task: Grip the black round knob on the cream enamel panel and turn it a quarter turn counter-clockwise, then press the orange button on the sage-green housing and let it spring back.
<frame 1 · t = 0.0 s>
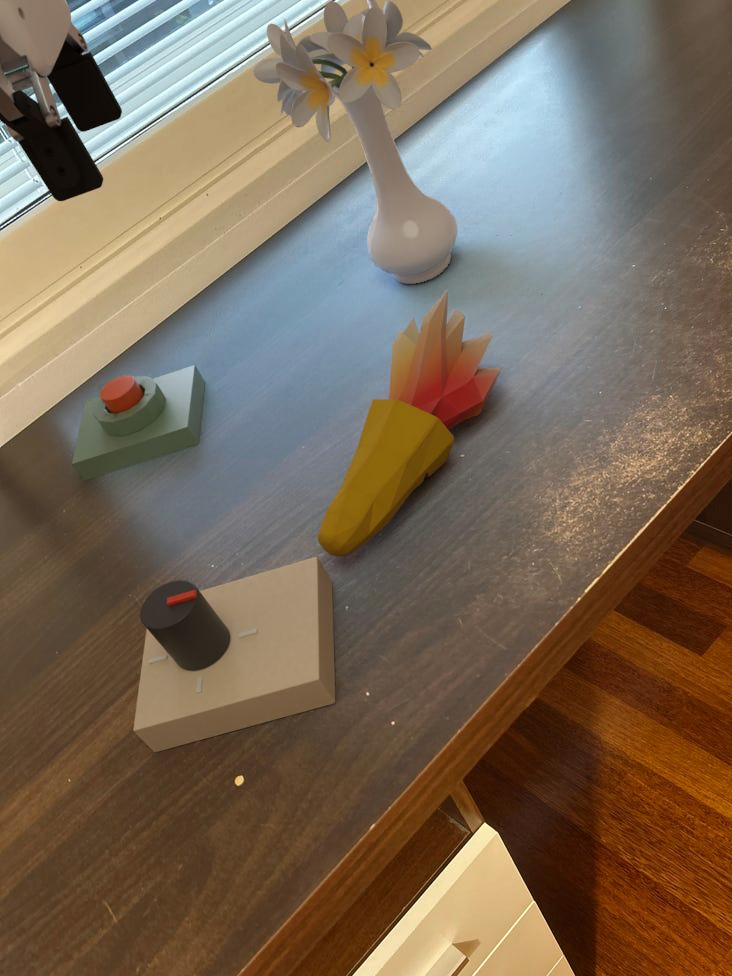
hand: (92, 156, 65), 30 cm above the table, tool pointing down, fingers open, 9 cm apart
flower vase: (416, 270, 105), on the table
knob: (185, 624, 73), point 6 cm above the table, hinge at 0.0°
panel: (246, 664, 77), on the table
torch: (416, 466, 86), on the table
button box: (146, 430, 100), on the table
button: (122, 394, 97), point 4 cm above the table, slide at 0.1 cm
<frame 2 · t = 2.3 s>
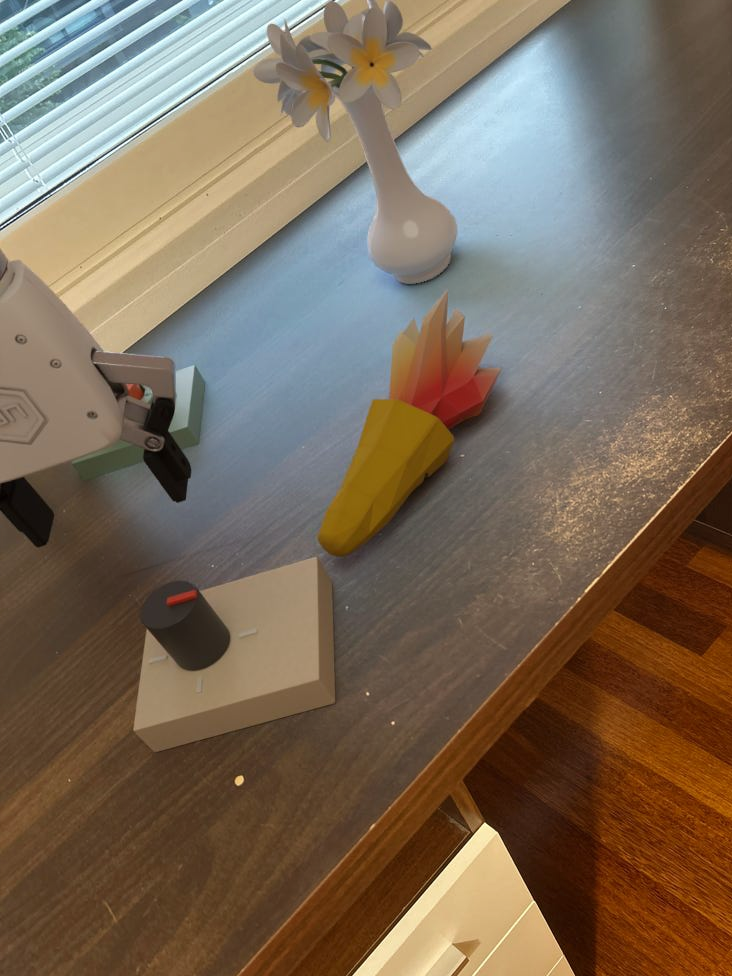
hand: (114, 509, 65), 16 cm above the table, tool pointing down, fingers open, 9 cm apart
nothing on the table moved.
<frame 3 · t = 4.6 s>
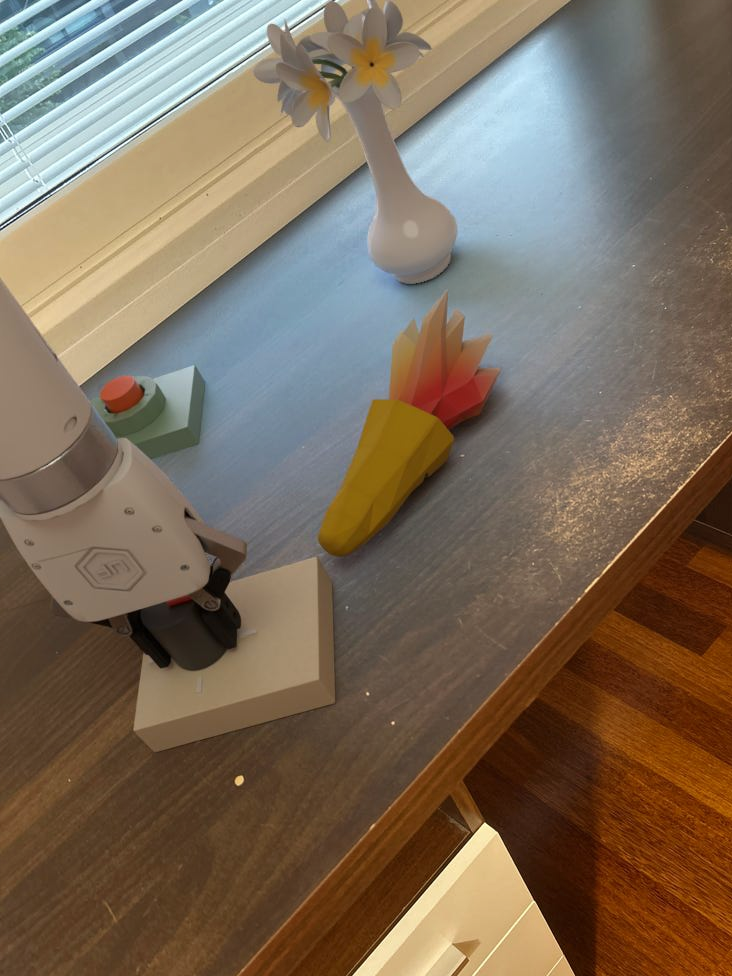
hand: (199, 641, 74), 4 cm above the table, tool pointing down, fingers closed on knob, 4 cm apart
knob: (185, 624, 73), point 6 cm above the table, hinge at 0.2°, touching gripper
everything else where it was.
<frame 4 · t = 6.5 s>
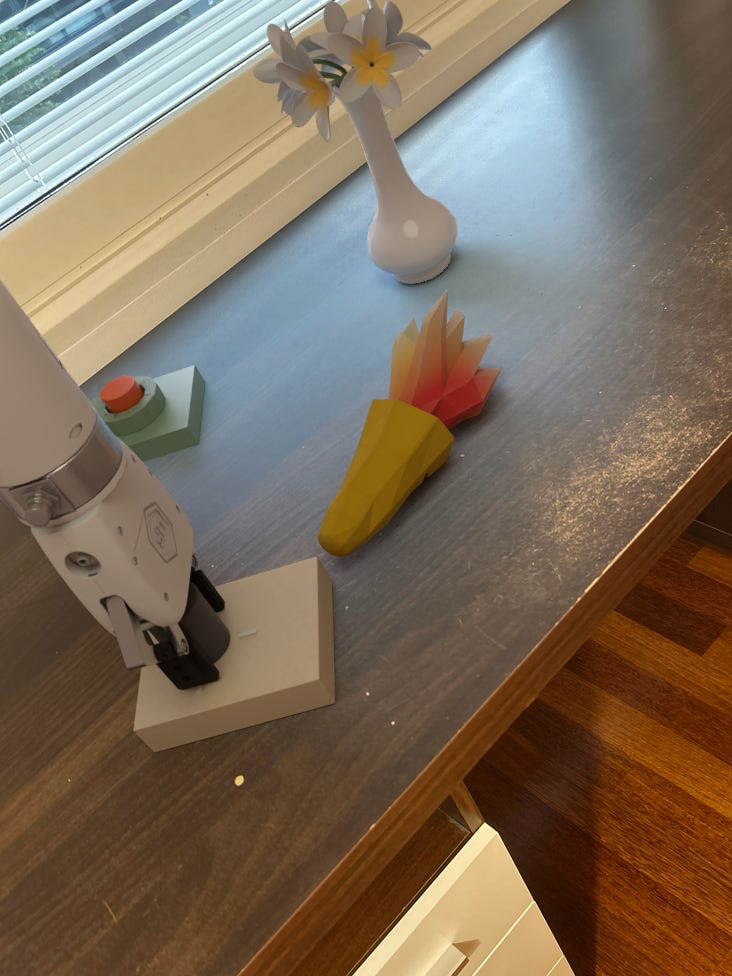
hand: (202, 644, 74), 3 cm above the table, tool pointing down, fingers open, 6 cm apart
knob: (185, 624, 73), point 6 cm above the table, hinge at 87.9°
everything else where it was.
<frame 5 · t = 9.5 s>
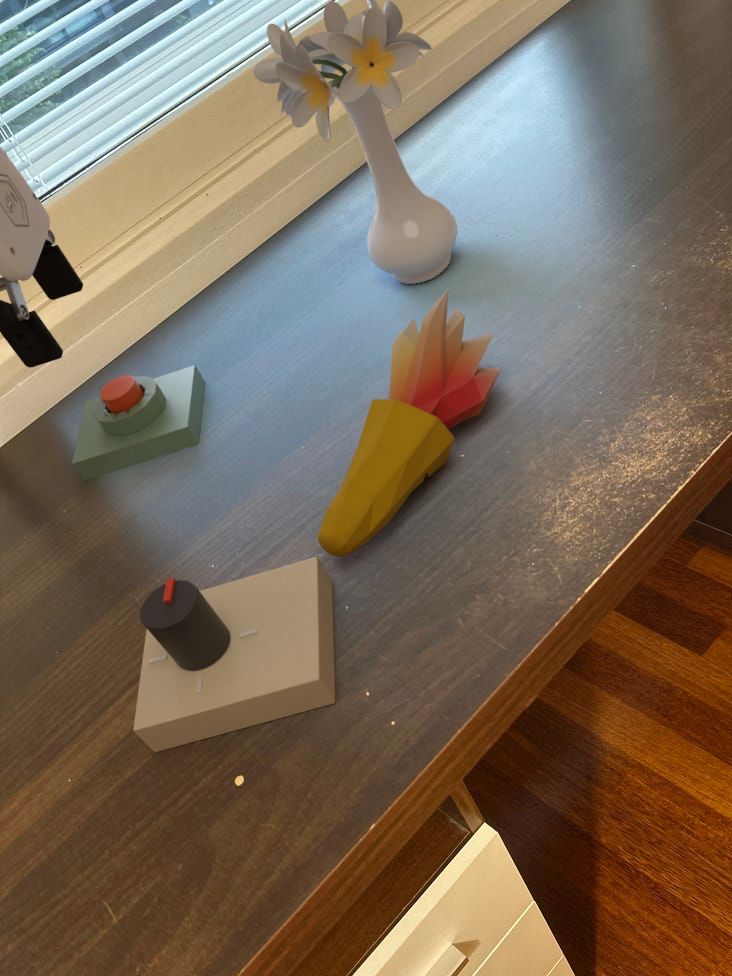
hand: (57, 326, 83), 16 cm above the table, tool pointing down, fingers open, 9 cm apart
nothing on the table moved.
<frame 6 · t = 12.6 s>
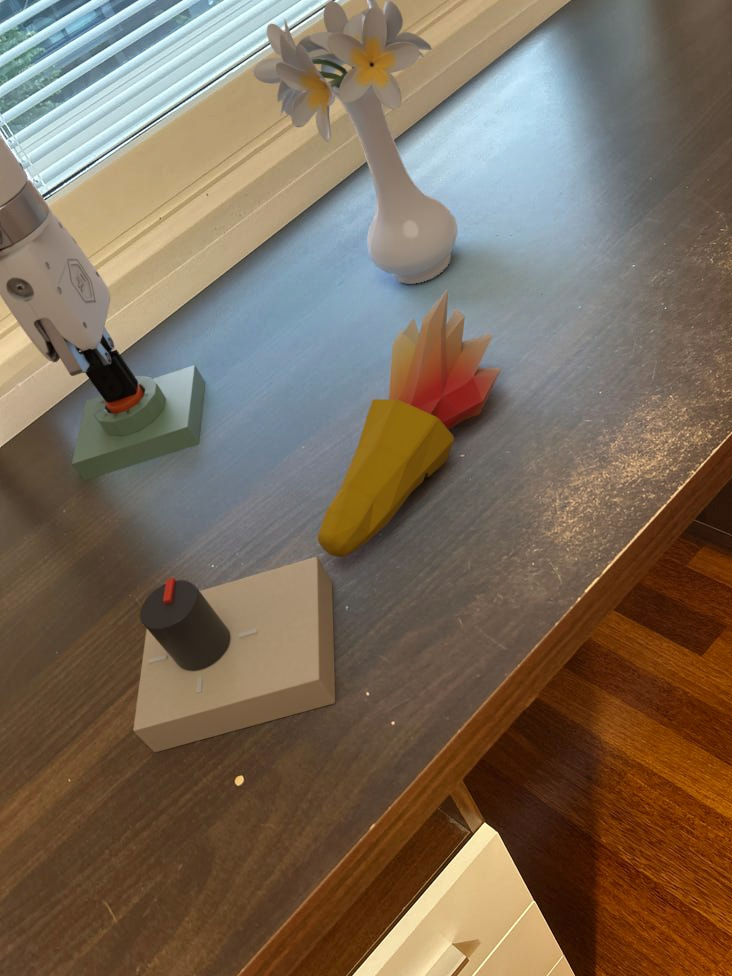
hand: (123, 393, 97), 5 cm above the table, tool pointing down, fingers closed
button: (126, 401, 98), point 4 cm above the table, slide at -0.8 cm, touching gripper
everything else where it was.
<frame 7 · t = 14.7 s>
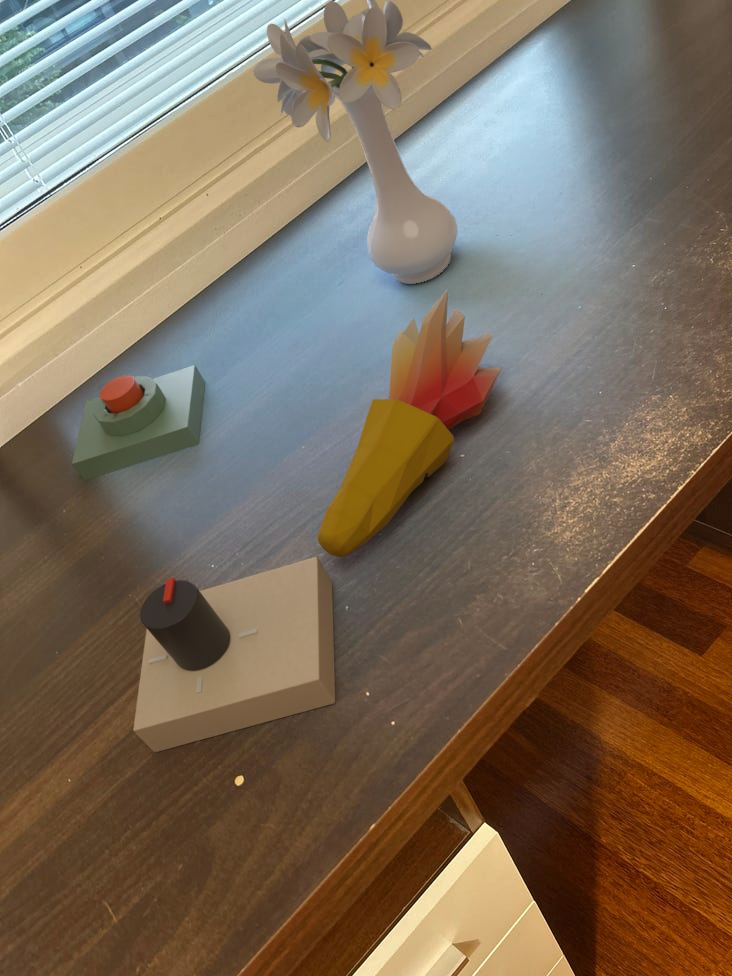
button: (122, 394, 97), point 4 cm above the table, slide at 0.1 cm
everything else where it was.
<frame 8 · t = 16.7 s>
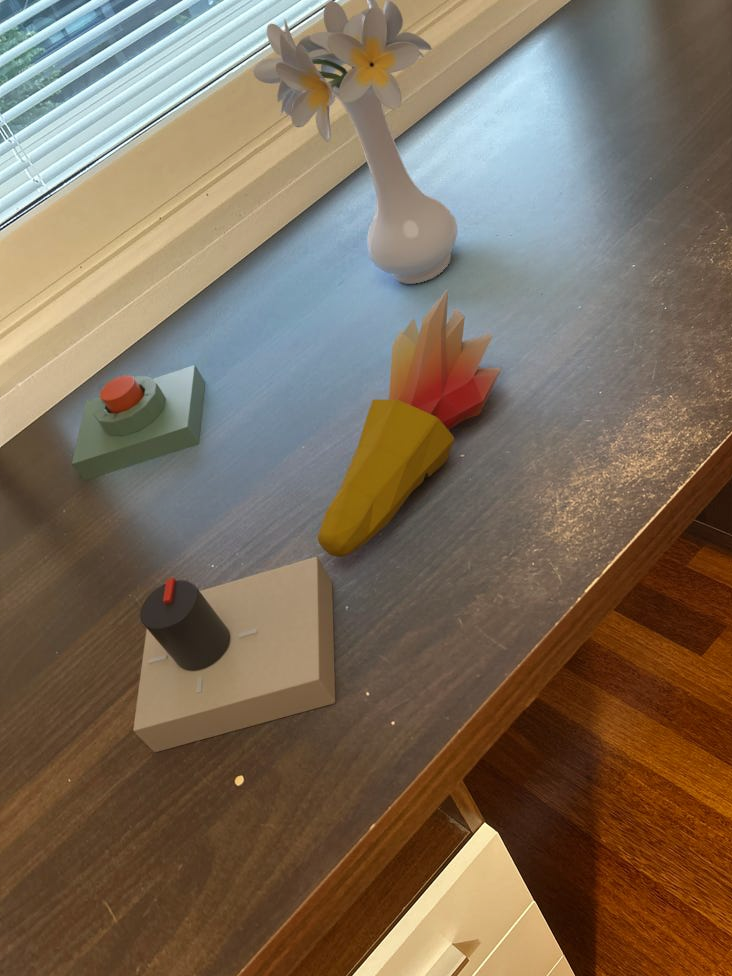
nothing on the table moved.
at the end: knob at +88° (first picture: +0°); button pushed in 1.1 cm at the most during the clip, back to where it started at the end; button slide at 0.1 cm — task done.
